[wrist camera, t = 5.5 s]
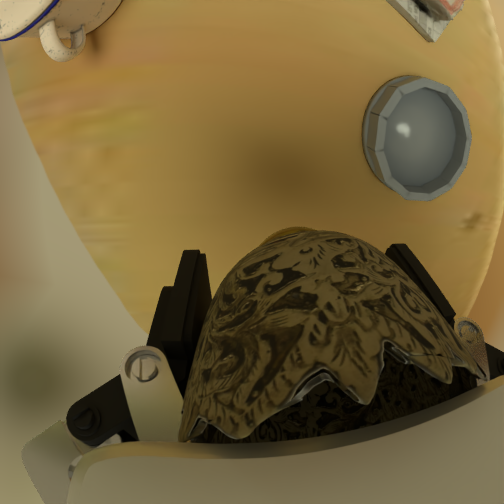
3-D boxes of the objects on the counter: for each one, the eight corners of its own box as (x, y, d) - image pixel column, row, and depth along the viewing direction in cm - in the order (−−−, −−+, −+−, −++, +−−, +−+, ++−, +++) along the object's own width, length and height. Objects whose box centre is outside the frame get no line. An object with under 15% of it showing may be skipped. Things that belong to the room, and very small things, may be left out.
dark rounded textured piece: (242, 138, 8) (247, 375, 2) (406, 215, 10) (521, 370, 4) (183, 297, 12) (157, 474, 6) (321, 330, 14) (353, 473, 7)
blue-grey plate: (444, 194, 24) (457, 205, 22) (354, 188, 24) (364, 200, 22) (462, 93, 17) (478, 97, 15) (365, 62, 17) (379, 62, 15)
